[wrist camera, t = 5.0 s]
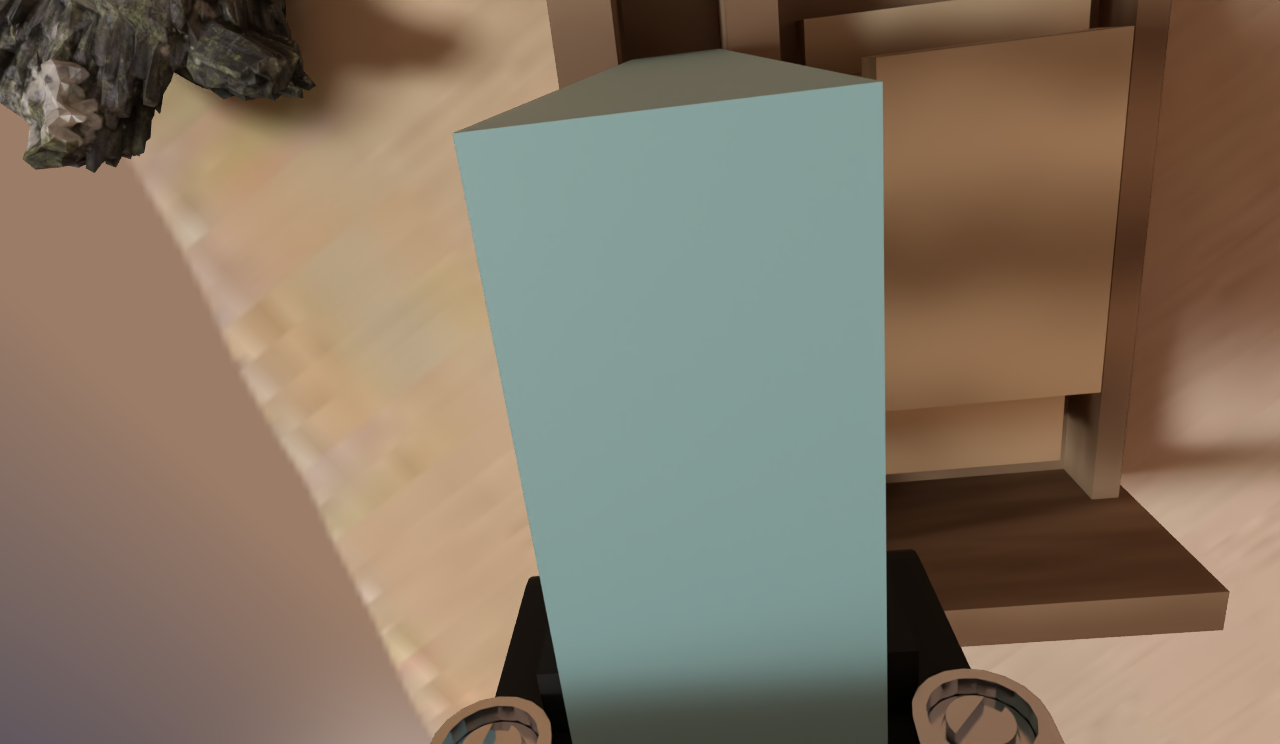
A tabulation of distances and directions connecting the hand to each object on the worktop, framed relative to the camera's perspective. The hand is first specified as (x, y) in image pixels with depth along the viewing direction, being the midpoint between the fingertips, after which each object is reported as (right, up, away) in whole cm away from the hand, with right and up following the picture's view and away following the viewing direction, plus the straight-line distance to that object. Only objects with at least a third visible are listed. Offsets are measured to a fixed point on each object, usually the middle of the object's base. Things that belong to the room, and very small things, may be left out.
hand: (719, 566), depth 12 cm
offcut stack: (+10, +8, +19) cm, 22 cm away
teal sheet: (+1, +6, +14) cm, 15 cm away
